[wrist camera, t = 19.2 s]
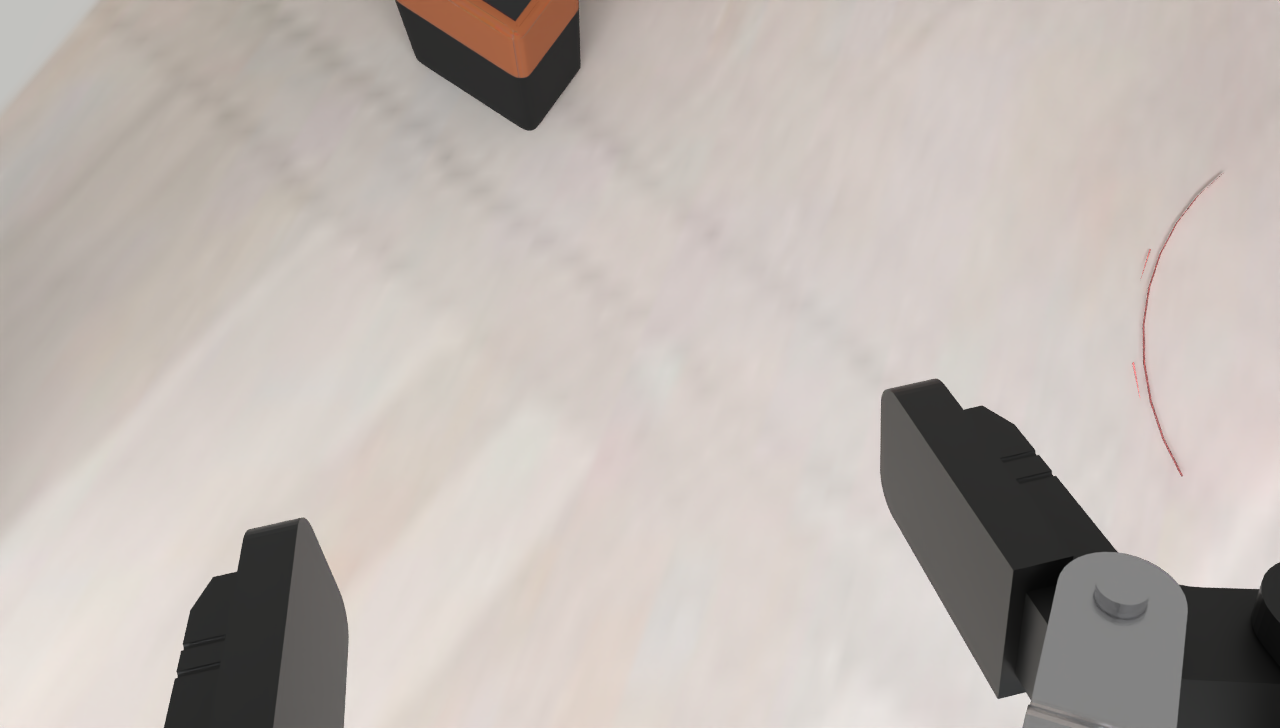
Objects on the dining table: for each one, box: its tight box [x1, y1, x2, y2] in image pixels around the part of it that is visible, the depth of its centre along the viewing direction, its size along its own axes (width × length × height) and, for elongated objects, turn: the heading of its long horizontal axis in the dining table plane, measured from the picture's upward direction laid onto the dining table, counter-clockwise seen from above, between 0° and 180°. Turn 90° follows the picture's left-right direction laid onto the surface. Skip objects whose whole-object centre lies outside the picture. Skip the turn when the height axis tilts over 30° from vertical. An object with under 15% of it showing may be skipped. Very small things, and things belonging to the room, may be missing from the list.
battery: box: [395, 0, 580, 130], centre depth 43 cm, size 4×7×10 cm, turn 57°
